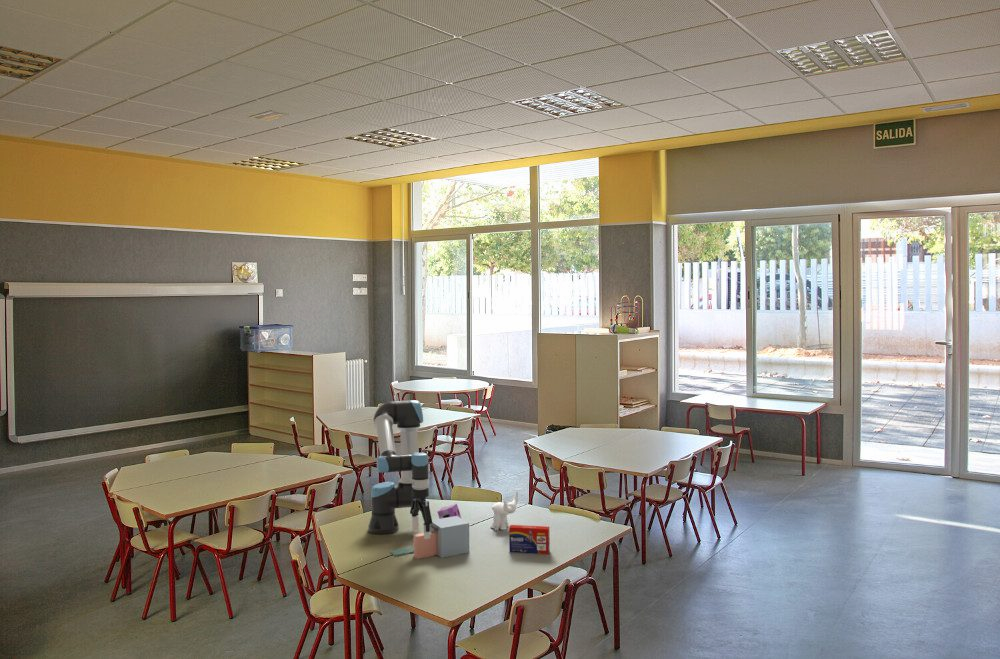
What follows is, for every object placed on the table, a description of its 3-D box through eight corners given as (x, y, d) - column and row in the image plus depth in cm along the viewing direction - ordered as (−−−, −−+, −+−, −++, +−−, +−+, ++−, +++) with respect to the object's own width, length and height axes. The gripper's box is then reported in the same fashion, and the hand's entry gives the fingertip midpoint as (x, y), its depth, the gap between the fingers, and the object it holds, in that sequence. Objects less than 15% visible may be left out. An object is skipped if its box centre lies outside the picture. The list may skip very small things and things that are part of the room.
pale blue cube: (428, 549, 339) (428, 520, 338) (457, 543, 346) (456, 515, 345) (439, 558, 327) (439, 528, 327) (469, 552, 334) (469, 523, 334)
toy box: (549, 551, 334) (549, 526, 334) (548, 554, 330) (548, 529, 330) (510, 549, 338) (510, 524, 337) (509, 552, 334) (509, 527, 333)
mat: (390, 552, 336) (390, 551, 336) (424, 545, 344) (424, 544, 344) (394, 556, 330) (394, 554, 330) (429, 549, 339) (429, 548, 338)
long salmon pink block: (413, 556, 330) (413, 534, 330) (446, 550, 338) (445, 528, 337) (416, 558, 327) (416, 536, 327) (449, 552, 335) (448, 531, 334)
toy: (461, 538, 351) (451, 508, 352) (446, 542, 353) (436, 512, 354) (466, 531, 362) (457, 502, 363) (452, 536, 363) (442, 507, 364)
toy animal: (508, 535, 359) (509, 501, 358) (485, 531, 363) (486, 498, 362) (520, 523, 377) (521, 491, 376) (498, 520, 381) (499, 488, 380)
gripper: (402, 483, 338) (403, 528, 338) (423, 494, 316) (424, 543, 317) (417, 481, 341) (418, 526, 342) (439, 492, 320) (440, 540, 320)
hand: (421, 534), depth 329 cm, fingers open, 13 cm apart
